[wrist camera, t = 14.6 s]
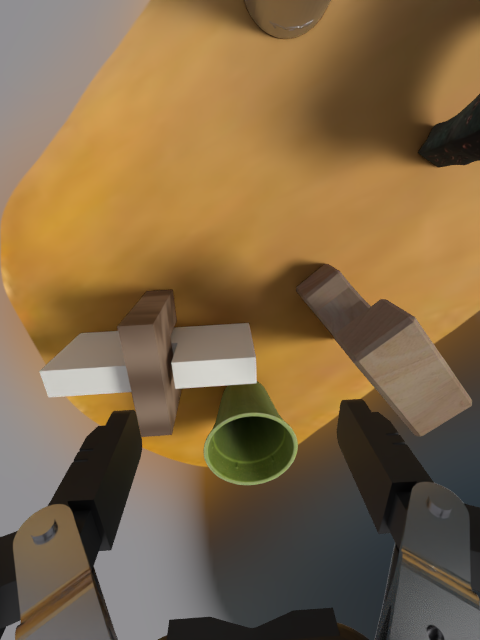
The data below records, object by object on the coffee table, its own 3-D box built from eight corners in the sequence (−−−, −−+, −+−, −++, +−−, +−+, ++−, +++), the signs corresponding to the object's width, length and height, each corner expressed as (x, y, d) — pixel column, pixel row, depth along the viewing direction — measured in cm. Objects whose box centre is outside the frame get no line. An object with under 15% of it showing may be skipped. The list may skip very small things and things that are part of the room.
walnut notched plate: (146, 291, 40) (117, 326, 29) (172, 289, 40) (153, 324, 29) (161, 378, 45) (141, 436, 34) (184, 377, 45) (171, 434, 34)
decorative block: (293, 287, 41) (351, 360, 22) (327, 260, 40) (418, 313, 21) (336, 341, 44) (417, 442, 26) (368, 318, 43) (477, 406, 25)
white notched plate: (80, 333, 42) (39, 371, 32) (248, 322, 42) (255, 357, 33) (86, 354, 43) (48, 397, 34) (249, 344, 44) (256, 383, 35)
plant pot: (280, 423, 50) (295, 483, 39) (210, 426, 49) (206, 487, 39) (283, 362, 45) (301, 411, 35) (206, 365, 45) (200, 415, 34)
